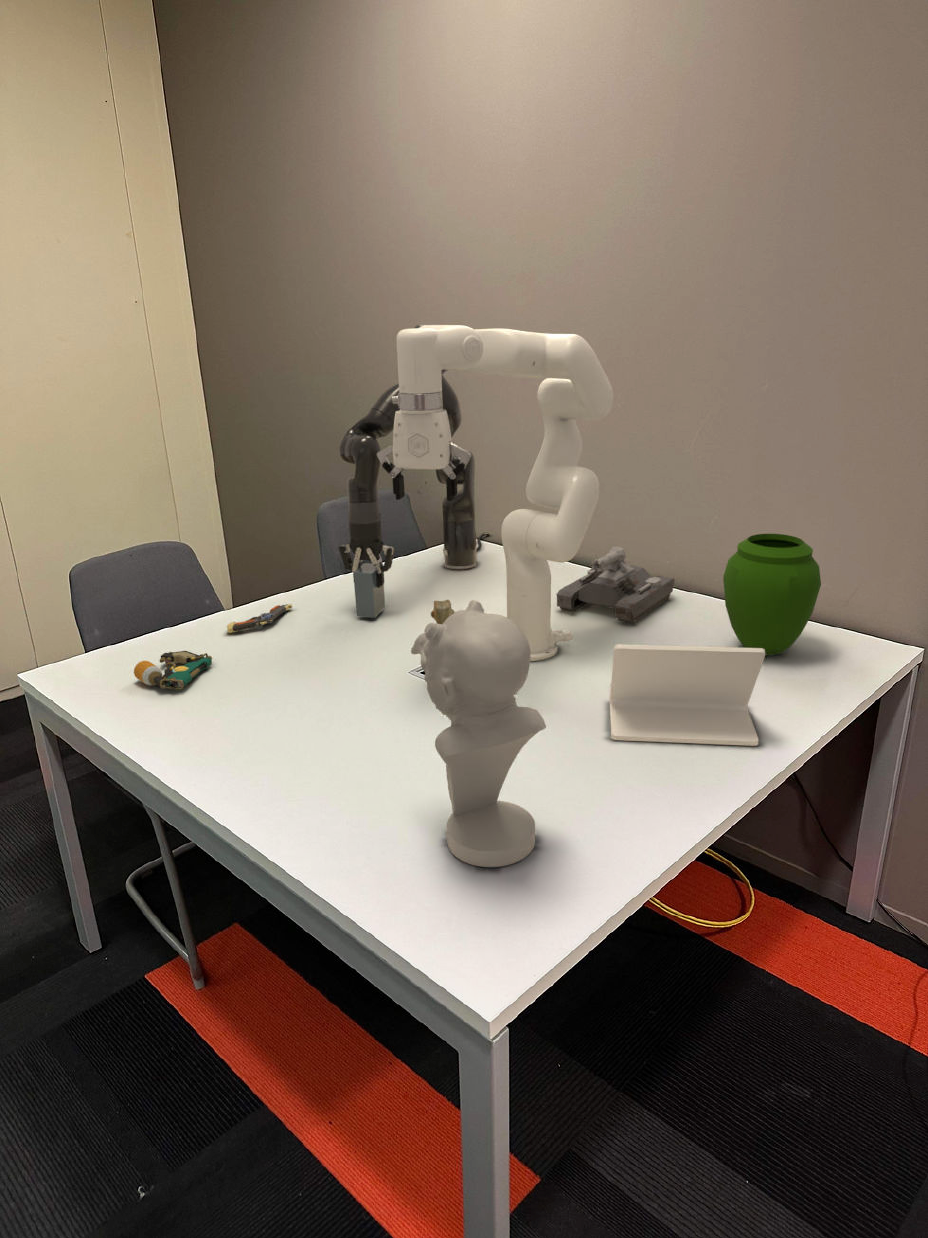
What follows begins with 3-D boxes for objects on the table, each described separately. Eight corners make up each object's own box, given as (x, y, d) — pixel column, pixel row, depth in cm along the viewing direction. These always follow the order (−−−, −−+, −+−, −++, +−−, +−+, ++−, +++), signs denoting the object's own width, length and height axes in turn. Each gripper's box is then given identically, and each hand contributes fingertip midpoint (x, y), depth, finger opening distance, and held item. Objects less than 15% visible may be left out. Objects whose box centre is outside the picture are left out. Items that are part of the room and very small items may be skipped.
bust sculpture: (481, 772, 140) (476, 569, 128) (565, 848, 120) (569, 617, 108) (392, 800, 134) (378, 588, 121) (465, 886, 114) (457, 642, 101)
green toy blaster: (177, 659, 191) (231, 671, 185) (120, 684, 176) (176, 698, 171) (176, 641, 190) (230, 653, 184) (118, 665, 175) (174, 678, 169)
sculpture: (458, 662, 183) (456, 596, 178) (460, 676, 176) (457, 608, 171) (431, 663, 183) (428, 597, 177) (431, 677, 176) (428, 609, 171)
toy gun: (223, 625, 202) (262, 621, 199) (256, 603, 219) (292, 600, 217) (225, 635, 202) (264, 632, 200) (258, 613, 220) (294, 610, 218)
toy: (603, 584, 229) (605, 530, 224) (673, 597, 218) (677, 540, 213) (555, 612, 210) (556, 553, 205) (630, 627, 199) (633, 566, 194)
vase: (820, 642, 188) (834, 534, 179) (800, 674, 173) (814, 558, 164) (732, 626, 198) (741, 524, 189) (705, 656, 183) (714, 546, 174)
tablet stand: (759, 746, 146) (769, 654, 140) (611, 740, 149) (614, 650, 143) (741, 699, 163) (749, 615, 157) (609, 695, 166) (611, 613, 160)
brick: (356, 616, 209) (353, 572, 205) (367, 606, 216) (364, 563, 212) (375, 617, 208) (371, 573, 204) (385, 607, 215) (382, 563, 211)
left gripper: (330, 521, 202) (336, 589, 208) (387, 523, 198) (392, 592, 205) (342, 513, 209) (347, 580, 215) (398, 515, 205) (401, 583, 211)
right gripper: (367, 405, 148) (373, 502, 154) (463, 405, 144) (466, 505, 150) (381, 400, 155) (387, 493, 161) (474, 400, 151) (476, 495, 157)
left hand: (369, 585), depth 210 cm, fingers closed on brick, 4 cm apart
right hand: (425, 498), depth 156 cm, fingers open, 9 cm apart
